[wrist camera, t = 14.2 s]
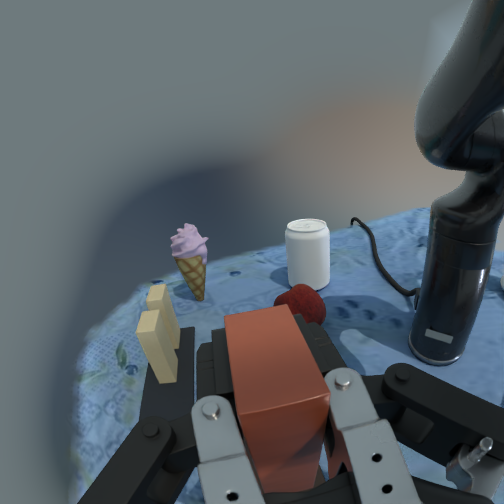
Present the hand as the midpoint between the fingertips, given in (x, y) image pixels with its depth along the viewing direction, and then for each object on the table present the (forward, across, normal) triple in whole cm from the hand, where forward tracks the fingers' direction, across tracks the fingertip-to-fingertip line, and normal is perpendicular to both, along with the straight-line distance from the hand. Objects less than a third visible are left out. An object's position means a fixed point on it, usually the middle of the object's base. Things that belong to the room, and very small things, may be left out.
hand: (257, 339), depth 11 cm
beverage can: (+36, -14, +19) cm, 43 cm away
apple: (+22, -8, +19) cm, 30 cm away
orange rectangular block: (-3, 0, +7) cm, 8 cm away
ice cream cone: (+37, +7, +19) cm, 42 cm away
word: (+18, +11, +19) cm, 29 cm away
